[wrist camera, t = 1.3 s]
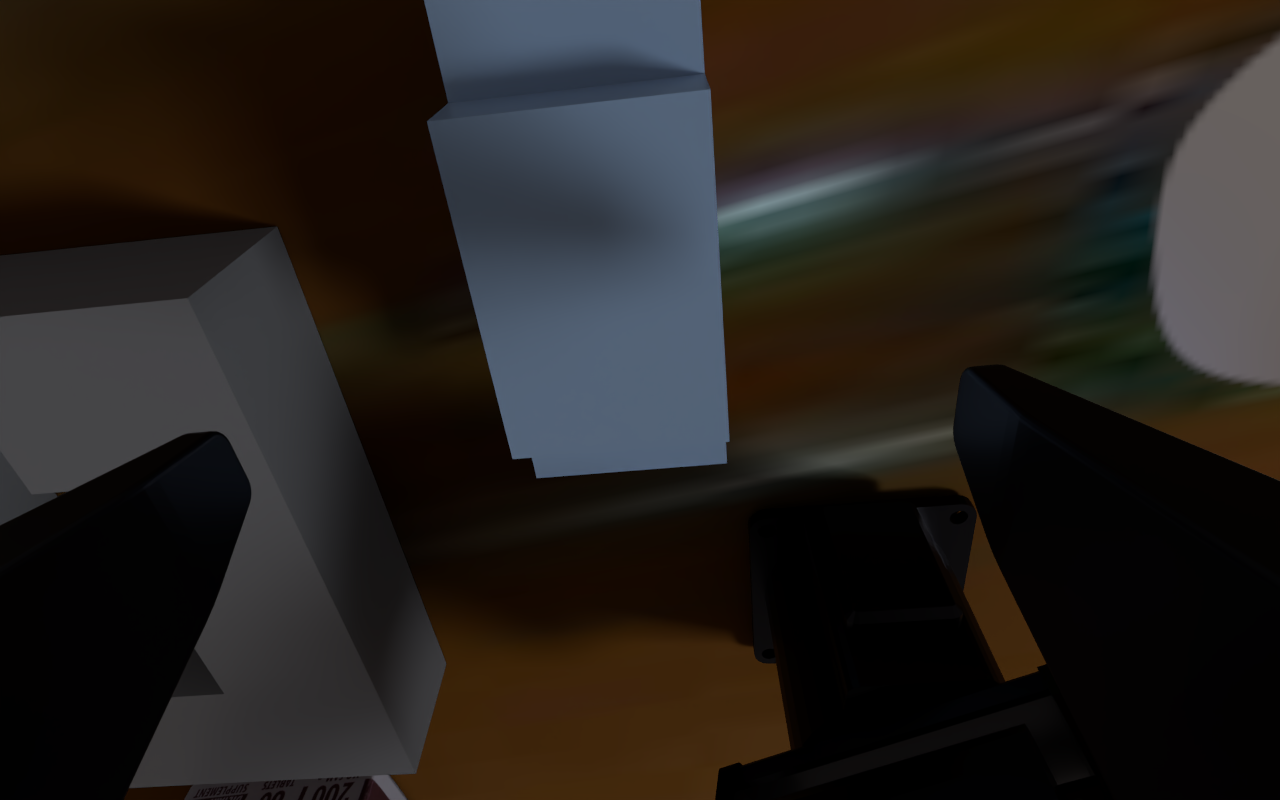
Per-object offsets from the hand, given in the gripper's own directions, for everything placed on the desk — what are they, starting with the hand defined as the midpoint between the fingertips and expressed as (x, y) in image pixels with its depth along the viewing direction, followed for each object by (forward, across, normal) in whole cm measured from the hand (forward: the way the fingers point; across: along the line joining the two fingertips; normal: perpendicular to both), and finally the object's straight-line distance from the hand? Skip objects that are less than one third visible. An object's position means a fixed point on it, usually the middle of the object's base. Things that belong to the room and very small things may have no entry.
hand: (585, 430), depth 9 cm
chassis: (+9, +15, +8) cm, 19 cm away
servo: (+10, 0, 0) cm, 10 cm away
